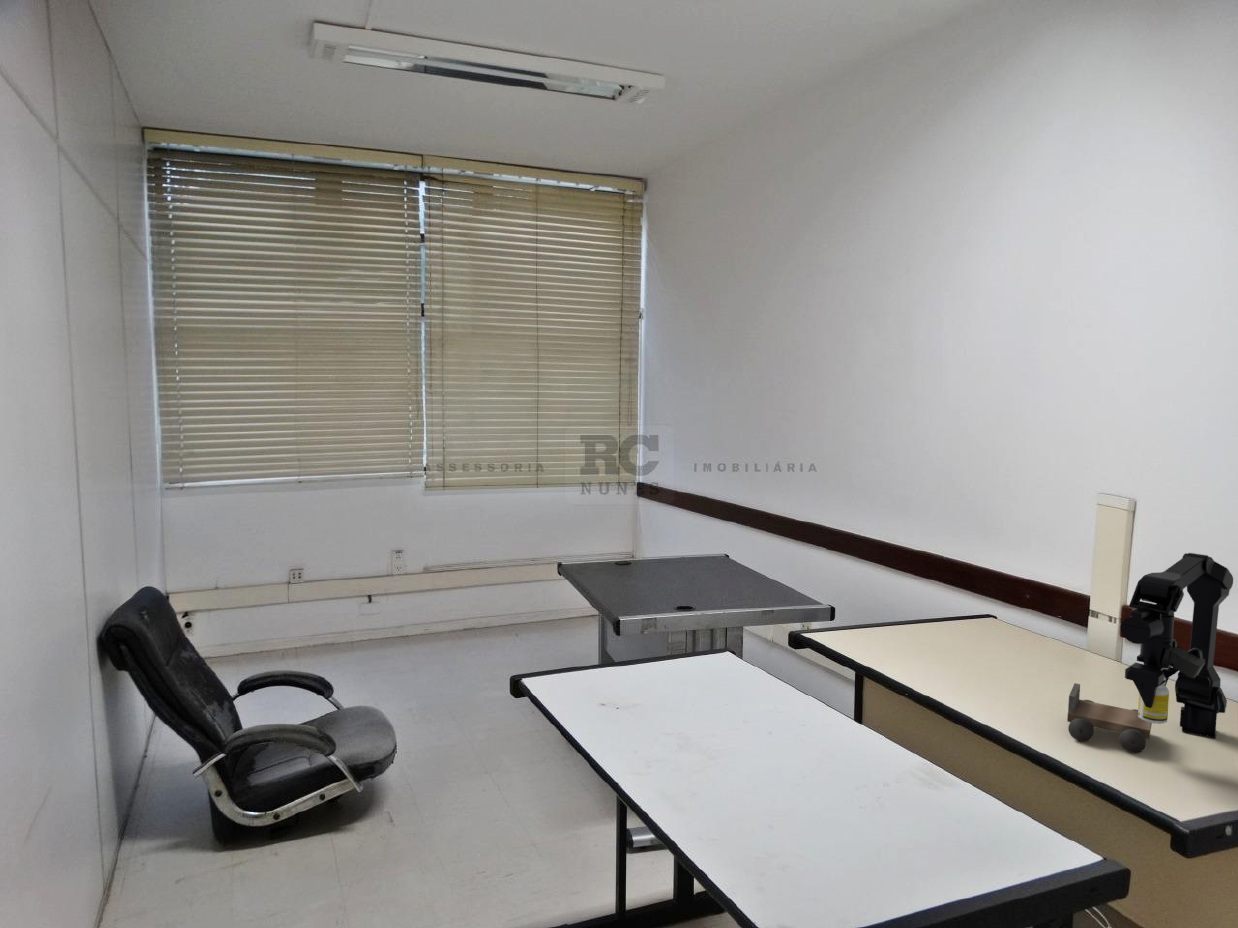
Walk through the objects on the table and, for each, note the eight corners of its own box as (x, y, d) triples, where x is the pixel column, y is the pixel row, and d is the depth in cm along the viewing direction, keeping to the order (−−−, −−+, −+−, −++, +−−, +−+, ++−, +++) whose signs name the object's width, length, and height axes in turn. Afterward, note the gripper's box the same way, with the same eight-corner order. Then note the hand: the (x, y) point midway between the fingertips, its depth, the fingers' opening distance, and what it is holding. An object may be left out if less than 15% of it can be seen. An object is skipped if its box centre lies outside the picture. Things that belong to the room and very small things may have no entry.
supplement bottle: (1173, 723, 173) (1175, 680, 172) (1148, 725, 173) (1151, 681, 172) (1155, 713, 178) (1158, 670, 177) (1131, 714, 178) (1134, 671, 177)
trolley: (1151, 733, 189) (1153, 694, 188) (1147, 756, 177) (1150, 715, 176) (1073, 716, 198) (1075, 680, 197) (1065, 737, 186) (1067, 698, 185)
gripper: (1188, 653, 161) (1183, 728, 163) (1214, 633, 173) (1209, 702, 175) (1125, 640, 170) (1122, 711, 171) (1154, 621, 182) (1150, 688, 183)
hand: (1153, 703), depth 175 cm, fingers closed on supplement bottle, 5 cm apart
